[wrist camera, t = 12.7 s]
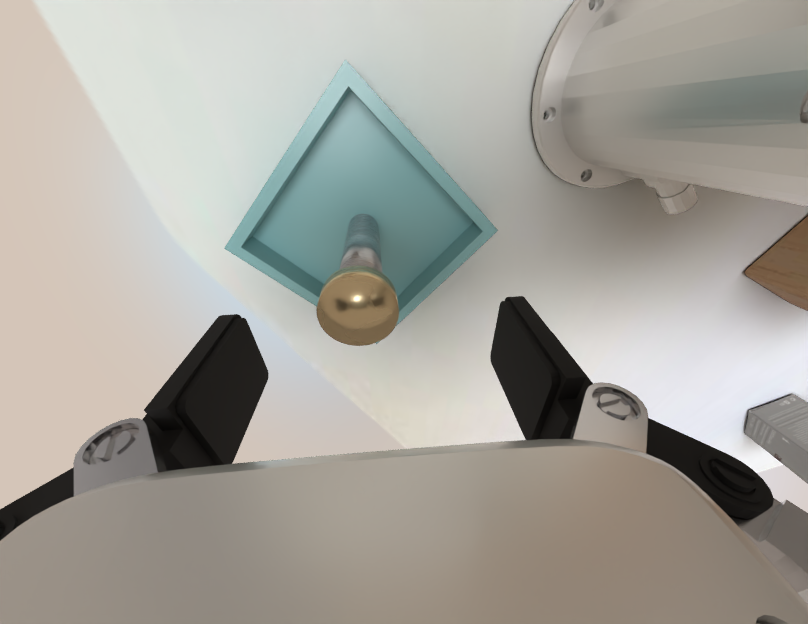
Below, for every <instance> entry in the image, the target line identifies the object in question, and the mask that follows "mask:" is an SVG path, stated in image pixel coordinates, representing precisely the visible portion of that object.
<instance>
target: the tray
mask: <svg viewBox="0 0 808 624" xmlns="http://www.w3.org/2000/svg"><path fill="white" fill-rule="evenodd" d="M358 214H368V215H370V216H372V217H373V218H374V219H375V220H376V221H377V223H378V227H379V238H380V250H381V262H382V273H383V274H384V275H386V276H387V277H388V278H389V280H390V281H391V282H392V284H393V285H394V287H395V290H396V294H397V300H398V307H399V318H398V321H397V324H396V326H397V325H398V324H399V323H400V322H401V321H402V320H403V319H404V318H405V317H406V316H407V315H408V314H409V313H410V312H411V311H413V310H414V309H415V308H416V307H417V306H418V305H419V304H420V303H421V302H422V301H423V300H424V299H425V298H426V297H428V296H429V295H430V294H431V293H432V292H433V291H434V290H435V289H436V288H437V287H438V286H439V285H440V284H441V283H442V282H444V281H445V280H446V279H447V278H448V277H449V276H450V275H451V274H452V273H453V272H454V271H455V270H456V269H457V268H458V267H460V266H461V265H462V264H463V263H464V262H465V261H466V260H467V259H468V258H469V257H470V256H471V255H472V254H473V253H474V252H476V251H477V250H478V249H479V248H480V247H481V246H482V245H483V244H484V243H485V242H486V241H487V240H488V239H489V238H490V237H492V236H493V235H494V234H495V233H496V232H497V231H498V230H497V229H496V228H495V227H494V225H493V224H492V223H491V222H490V221H489V220H488V219H487V218H486V217H485V215H484V214H483V213H482V212H481V211H480V210H479V209H478V208H477V206H476V205H475V204H474V203H473V202H472V201H471V200H470V199H469V197H468V196H467V195H466V194H465V193H464V192H463V191H462V190H461V188H460V187H459V186H458V185H457V184H456V183H455V182H454V181H453V180H452V178H451V177H450V176H449V175H448V174H447V173H446V172H445V171H444V169H443V168H442V167H441V166H440V165H439V164H438V163H437V162H436V160H435V159H434V158H433V157H432V156H431V155H430V154H429V153H428V151H427V150H426V149H425V148H424V147H423V146H422V145H421V144H420V143H419V141H418V140H417V139H416V138H415V137H414V136H413V135H412V134H411V132H410V131H409V130H408V129H407V128H406V127H405V126H404V125H403V123H402V122H401V121H400V120H399V119H398V118H397V117H396V116H395V114H394V113H393V112H392V111H391V110H390V109H389V108H388V107H387V106H386V104H385V103H384V102H383V101H382V100H381V99H380V98H379V97H378V95H377V94H376V93H375V92H374V91H373V90H372V89H371V88H370V86H369V85H368V84H367V83H366V82H365V81H364V80H363V79H362V77H361V76H360V75H359V74H358V73H357V72H356V71H355V70H354V69H353V67H352V66H351V65H350V64H349V63H348V62H347V61H346V60H345V61H344V62H343V64H342V66H341V67H340V69H339V70H338V72H337V73H336V75H335V76H334V78H333V80H332V81H331V83H330V84H329V86H328V87H327V89H326V91H325V92H324V94H323V95H322V97H321V98H320V100H319V101H318V103H317V105H316V106H315V108H314V109H313V111H312V112H311V114H310V115H309V117H308V119H307V120H306V122H305V123H304V125H303V126H302V128H301V129H300V131H299V133H298V134H297V136H296V137H295V139H294V140H293V142H292V144H291V145H290V147H289V148H288V150H287V151H286V153H285V154H284V156H283V158H282V159H281V161H280V162H279V164H278V165H277V167H276V168H275V170H274V172H273V173H272V175H271V176H270V178H269V179H268V181H267V182H266V184H265V186H264V187H263V189H262V190H261V192H260V193H259V195H258V197H257V198H256V200H255V201H254V203H253V204H252V206H251V207H250V209H249V211H248V212H247V214H246V215H245V217H244V218H243V220H242V221H241V223H240V225H239V226H238V228H237V229H236V231H235V232H234V234H233V235H232V237H231V239H230V240H229V242H228V243H227V245H226V246H225V249H226V250H228V251H229V252H231V253H232V254H234V255H236V256H237V257H239V258H240V259H242V260H244V261H245V262H247V263H248V264H250V265H252V266H253V267H255V268H256V269H258V270H260V271H261V272H263V273H264V274H266V275H268V276H269V277H271V278H272V279H274V280H276V281H277V282H279V283H280V284H282V285H284V286H285V287H287V288H288V289H290V290H292V291H293V292H295V293H296V294H298V295H299V296H301V297H303V298H304V299H306V300H307V301H309V302H311V303H312V304H314V305H315V306H317V304H318V301H319V297H320V294H321V290H322V287H323V285H324V283H325V281H326V280H327V279H328V278H329V277H330V276H331V275H332V274H333V273H334V272H336V271H338V270H339V269H340V264H341V260H342V255H343V250H344V245H345V240H346V235H347V231H348V226H349V222H350V220H351V219H352V218H353V217H354V216H356V215H358ZM380 341H381V340H380ZM378 342H379V341H378ZM378 342H376V344H377V343H378Z"/></svg>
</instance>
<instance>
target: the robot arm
mask: <svg viewBox="0 0 808 624" xmlns="http://www.w3.org/2000/svg"><path fill="white" fill-rule="evenodd" d="M589 2H590V5H591V6H590V8H589ZM544 112H546V117H545V118H544V119H543V115H544ZM532 125H533V135H534V138H535V142H536V146H537V149H538V152H539V153H540V155H541V157H542V159H543V161H544V163H545V164H546V165H547V167H548V168H549V169H550V170H551V171H552V172H553V173H554V174H555V175H556V176H558V177H559V178H561V179H562V180H564V181H566V182H569V183H572V184H574V185H577V186H582V187H587V188H605V187H610V186H614V185H618V184H621V183H624V182H626V181H629V180H631V179H633V178H639V179H643V181H644V183H645V185H646V186H648V187H655V189H656V191H657V196H658V198H659V200H660V203H661V205H662V207H663V209H664V211H665V213H667V214H679V213H682V212H685V211H687V210H689V209H690V208H692V207H693V206H694V205H695V204H696V202H697V195H696V192H695V190H694V187H693V185H692V184H694V185H699V186H704V187H710V188H715V189H720V190H725V191H730V192H735V193H740V194H745V195H750V196H755V197H761V198H766V199H771V200H776V201H781V202H786V203H791V204H796V205H801V206H806V207H808V0H575V1H574V3H573V4H572V5H571V7H570V8H569V10H568V11H567V13H566V14H565V15H564V17H563V18H562V20H561V21H560V23H559V25H558V27H557V29H556V31H555V32H554V34H553V36H552V38H551V40H550V42H549V44H548V46H547V49H546V51H545V54H544V57H543V59H542V62H541V65H540V67H539V70H538V75H537V79H536V84H535V88H534V92H533V104H532ZM491 363H492V366H493V368H494V370H495V372H496V374H497V377H498V379H499V381H500V383H501V386H502V388H503V390H504V392H505V395H506V397H507V399H508V401H509V403H510V406H511V408H512V410H513V412H514V415H515V417H516V419H517V421H518V424H519V426H520V428H521V430H522V433H523V435H524V437H525V439H526V440H522V441H505V442H490V443H477V444H464V445H451V446H438V447H425V448H412V449H400V450H388V451H377V452H364V453H352V454H340V455H329V456H316V457H305V458H294V459H282V460H271V461H259V462H248V463H237V464H232V462H233V460H234V458H235V456H236V453H237V451H238V449H239V446H240V444H241V442H242V439H243V437H244V435H245V432H246V430H247V427H248V425H249V423H250V420H251V418H252V416H253V413H254V411H255V409H256V406H257V403H258V402H259V399H260V397H261V394H262V392H263V390H264V387H265V385H266V383H267V380H268V370H267V367H266V365H265V363H264V360H263V358H262V356H261V353H260V351H259V349H258V346H257V344H256V342H255V339H254V337H253V335H252V332H251V330H250V327H249V325H248V323H247V321H246V319H245V318H241V316H240V315H237V314H236V315H222V316H219V317H218V318H217V319H216V320H215V322H214V323H213V324H212V325H211V327H210V328H209V329H208V330H207V332H206V333H205V334H204V336H203V337H202V338H201V339H200V340H199V342H198V343H197V344H196V346H195V347H194V348H193V349H192V350H191V352H190V353H189V354H188V356H187V357H186V358H185V359H184V361H183V362H182V363H181V364H180V365H179V367H178V368H177V369H176V371H175V372H174V373H173V374H172V375H171V377H170V378H169V379H168V381H167V382H166V383H165V384H164V385H163V387H162V388H161V389H160V391H159V392H158V393H157V394H156V396H155V397H154V398H153V399H152V401H151V402H150V403H149V404H148V406H147V407H146V408H145V409H144V411H145V412H146V413H147V415H146V416H145V417H144V418H143V420H141V419H138V418H129V419H125V420H121V421H118V422H116V423H113V424H111V425H109V426H107V427H105V428H104V429H102V430H100V431H99V432H97V433H96V434H95V435H93V436H92V437H91V438H89V439H88V440H87V441H86V442H85V443H84V444H83V445H82V446H81V448H80V449H79V451H78V452H77V454H76V456H75V460H74V468H72V469H70V470H68V471H67V472H65V473H63V474H61V475H60V476H58V477H56V478H54V479H53V480H51V481H49V482H48V483H46V484H44V485H42V486H40V487H39V488H37V489H35V490H34V491H32V492H30V493H28V494H26V495H25V496H23V497H21V498H19V499H18V500H16V501H14V502H12V503H11V504H9V505H7V506H5V507H4V508H2V509H0V624H808V513H806V512H805V511H803V510H802V509H800V508H799V507H797V506H796V505H794V504H792V503H790V502H789V501H788V500H785V501H784V502H782V503H781V502H779V501H777V500H776V499H774V498H773V496H772V493H771V491H770V489H769V487H768V486H767V484H766V483H765V482H764V480H763V479H762V478H761V477H760V476H759V475H758V474H757V473H756V472H754V471H753V470H752V469H751V468H750V467H748V466H747V465H745V464H744V463H743V462H741V461H739V460H738V459H736V458H734V457H732V456H730V455H728V454H726V453H724V452H722V451H719V450H717V449H715V448H713V447H711V446H709V445H706V444H704V443H702V442H700V441H698V440H695V439H693V438H691V437H689V436H687V435H684V434H682V433H680V432H678V431H676V430H673V429H671V428H669V427H667V426H665V425H662V424H660V423H658V422H656V421H654V420H651V419H649V418H648V413H647V409H646V407H645V406H644V404H643V402H642V401H641V400H640V399H639V398H638V397H637V396H635V395H634V394H632V393H631V392H630V391H628V390H626V389H624V388H622V387H620V386H617V385H614V384H610V383H594V384H593V383H592V382H591V381H590V379H589V378H588V377H587V375H586V374H585V373H584V372H583V370H582V369H581V368H580V367H579V365H578V364H577V363H576V362H575V360H574V359H573V358H572V357H571V355H570V354H569V353H568V351H567V350H566V349H565V348H564V346H563V345H562V344H561V343H560V341H559V340H558V339H557V338H556V336H555V335H554V334H553V333H552V332H551V331H550V329H549V328H548V327H547V326H546V324H545V323H544V322H543V321H542V319H541V318H540V317H539V315H538V314H537V313H536V312H535V310H534V309H533V308H532V307H531V305H530V304H529V303H528V302H527V300H526V299H525V298H524V297H523V296H519V297H507V298H506V299H505V301H502V302H501V303H500V307H499V313H498V318H497V323H496V329H495V334H494V339H493V344H492V350H491Z"/></svg>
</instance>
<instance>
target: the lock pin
mask: <svg viewBox="0 0 808 624" xmlns="http://www.w3.org/2000/svg"><path fill="white" fill-rule="evenodd" d="M317 318H318V321H319V323H320V325H321V327H322V328H323V330H324V331H325V332H326V333H327V334H328V335H329V336H330V337H332V338H333V339H335V340H337V341H339V342H341V343H344V344H348V345H356V346H362V345H369V344H373V343H376V342H378V341H380V340H382V339H384V338H385V337H387V336H388V335H389V334H390V333H391V332H392V331H393V329H394V328H395V326H396V324H397V321H398V318H399V307H398V300H397V294H396V290H395V287H394V285H393V284H392V282H391V281H390V280H389V278H388V277H387V276H386V275H384V274H383V273H382V262H381V250H380V238H379V227H378V223H377V221H376V220H375V219H374V218H373V217H372V216H370V215H368V214H358V215H356V216H354V217H353V218H352V219H351V220H350V222H349V226H348V231H347V235H346V240H345V245H344V250H343V255H342V260H341V264H340V269H339V270H338V271H336V272H334V273H333V274H332V275H331V276H330V277H329V278H328V279H327V280H326V281H325V283H324V285H323V287H322V290H321V294H320V297H319V301H318V304H317Z"/></svg>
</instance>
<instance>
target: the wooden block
mask: <svg viewBox="0 0 808 624" xmlns="http://www.w3.org/2000/svg"><path fill="white" fill-rule="evenodd" d="M745 274H746V276H747V277H749V278H751V279H752V280H754V281H755V282H757V283H759V284H760V285H762V286H763V287H765V288H767V289H768V290H770V291H771V292H773V293H775V294H776V295H778V296H779V297H781V298H783V299H784V300H786V301H787V302H789V303H791V304H793V305H795V306H798V307H800V308H802V309H804V310H807V311H808V216H807V217H806V218H805V219H804V220H803V221H801V222H800V223H799V224H798V225H797V226H796V227H795V228H793V229H792V230H791V231H790V232H789V233H788V234H787V235H785V236H784V237H783V238H782V239H781V240H780V241H779V242H777V243H776V244H775V245H774V246H773V247H772V248H770V249H769V250H768V251H767V252H766V253H765V254H764V255H762V256H761V257H760V258H759V259H758V260H757V261H756V262H754V263H753V264H752V265H751V266H750V267H749V268H748V269H746V271H745Z"/></svg>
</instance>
